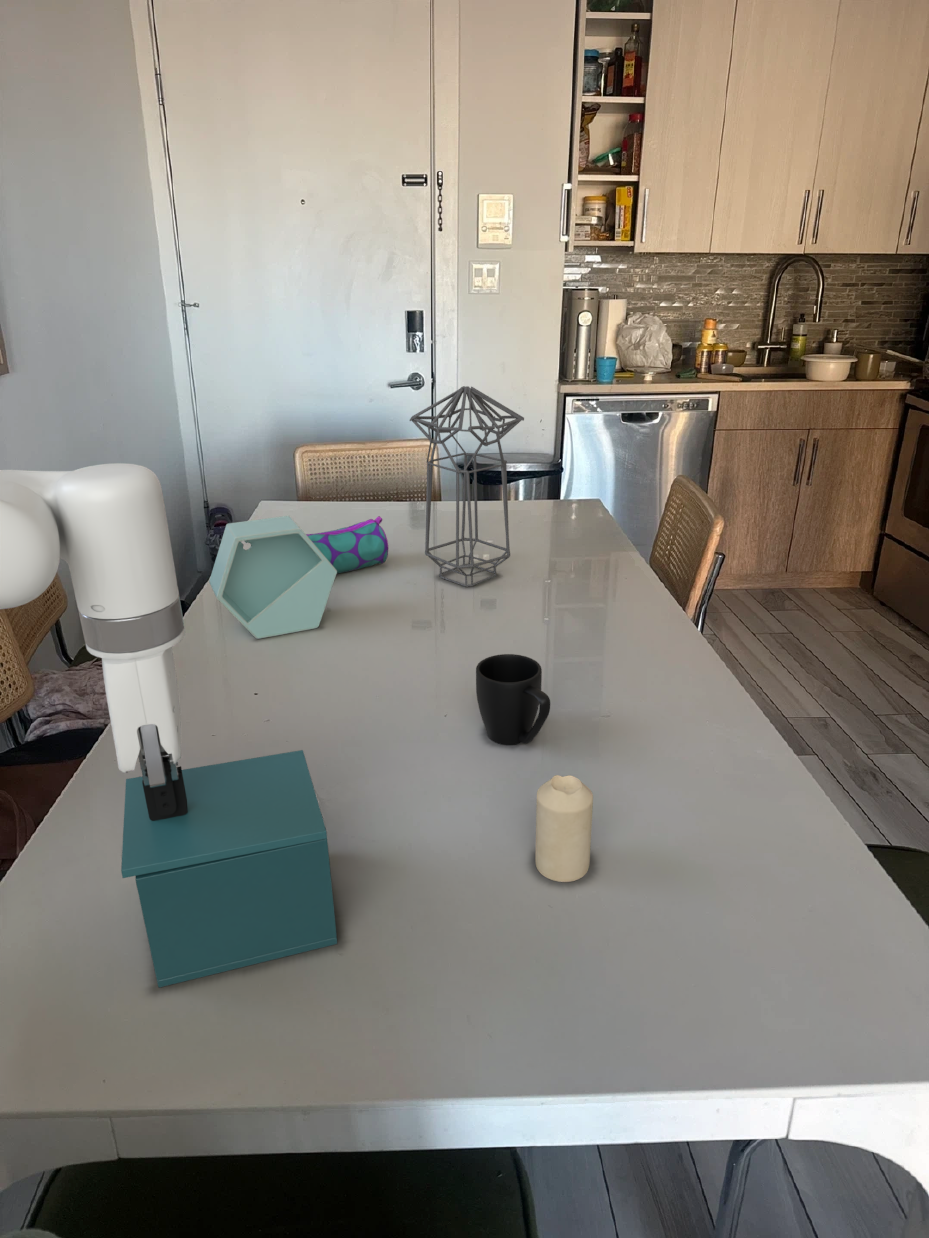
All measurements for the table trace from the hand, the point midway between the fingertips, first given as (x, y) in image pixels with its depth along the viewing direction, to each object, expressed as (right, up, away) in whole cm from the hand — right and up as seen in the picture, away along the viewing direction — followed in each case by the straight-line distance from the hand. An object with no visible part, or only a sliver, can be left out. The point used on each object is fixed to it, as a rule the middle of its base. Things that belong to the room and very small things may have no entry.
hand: (169, 812), depth 77 cm
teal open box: (+5, -11, +7) cm, 14 cm away
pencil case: (+1, +26, +91) cm, 95 cm away
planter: (-5, +16, +68) cm, 70 cm away
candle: (+36, -8, +12) cm, 39 cm away
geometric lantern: (+27, +25, +88) cm, 95 cm away
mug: (+33, +1, +34) cm, 47 cm away
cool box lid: (+4, 0, +2) cm, 5 cm away
